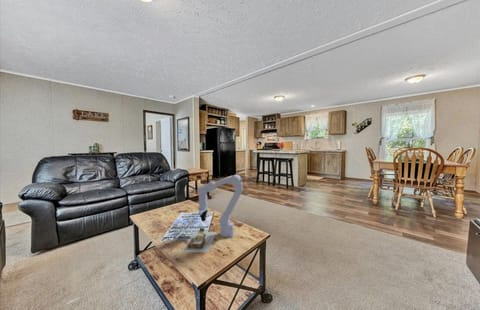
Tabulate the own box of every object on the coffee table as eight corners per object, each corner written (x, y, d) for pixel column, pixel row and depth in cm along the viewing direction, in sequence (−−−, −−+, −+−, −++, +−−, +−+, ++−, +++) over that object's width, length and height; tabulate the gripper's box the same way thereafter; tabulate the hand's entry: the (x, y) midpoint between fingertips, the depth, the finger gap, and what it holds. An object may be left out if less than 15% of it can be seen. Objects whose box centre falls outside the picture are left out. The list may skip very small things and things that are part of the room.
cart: (198, 235, 120) (198, 228, 120) (205, 235, 120) (205, 228, 120) (195, 240, 114) (195, 232, 114) (203, 240, 114) (203, 232, 114)
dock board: (216, 232, 125) (216, 232, 125) (208, 253, 101) (208, 252, 101) (194, 232, 126) (194, 231, 126) (181, 252, 102) (181, 251, 102)
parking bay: (205, 242, 112) (205, 238, 112) (202, 248, 105) (202, 244, 105) (192, 241, 113) (192, 238, 112) (188, 248, 105) (188, 244, 105)
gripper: (200, 199, 130) (200, 216, 131) (194, 205, 116) (194, 225, 117) (209, 199, 130) (210, 216, 131) (204, 205, 115) (204, 225, 116)
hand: (203, 220), depth 124 cm, fingers closed
